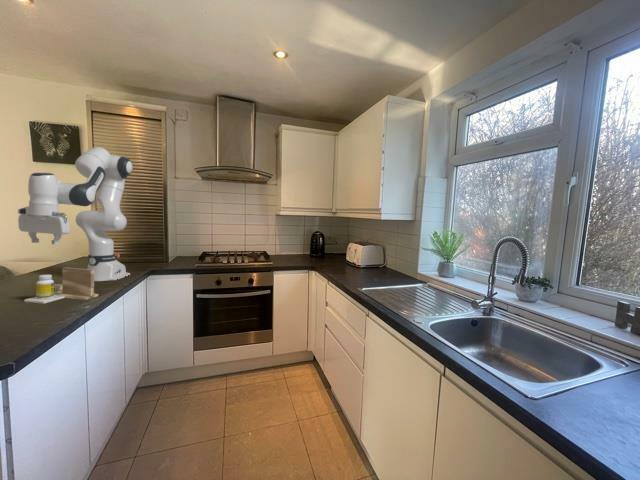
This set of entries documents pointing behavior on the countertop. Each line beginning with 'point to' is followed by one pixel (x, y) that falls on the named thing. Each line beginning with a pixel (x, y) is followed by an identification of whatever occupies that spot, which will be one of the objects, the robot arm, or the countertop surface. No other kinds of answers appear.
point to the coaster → (44, 299)
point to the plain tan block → (57, 289)
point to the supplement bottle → (45, 287)
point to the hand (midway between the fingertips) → (45, 243)
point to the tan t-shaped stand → (78, 283)
